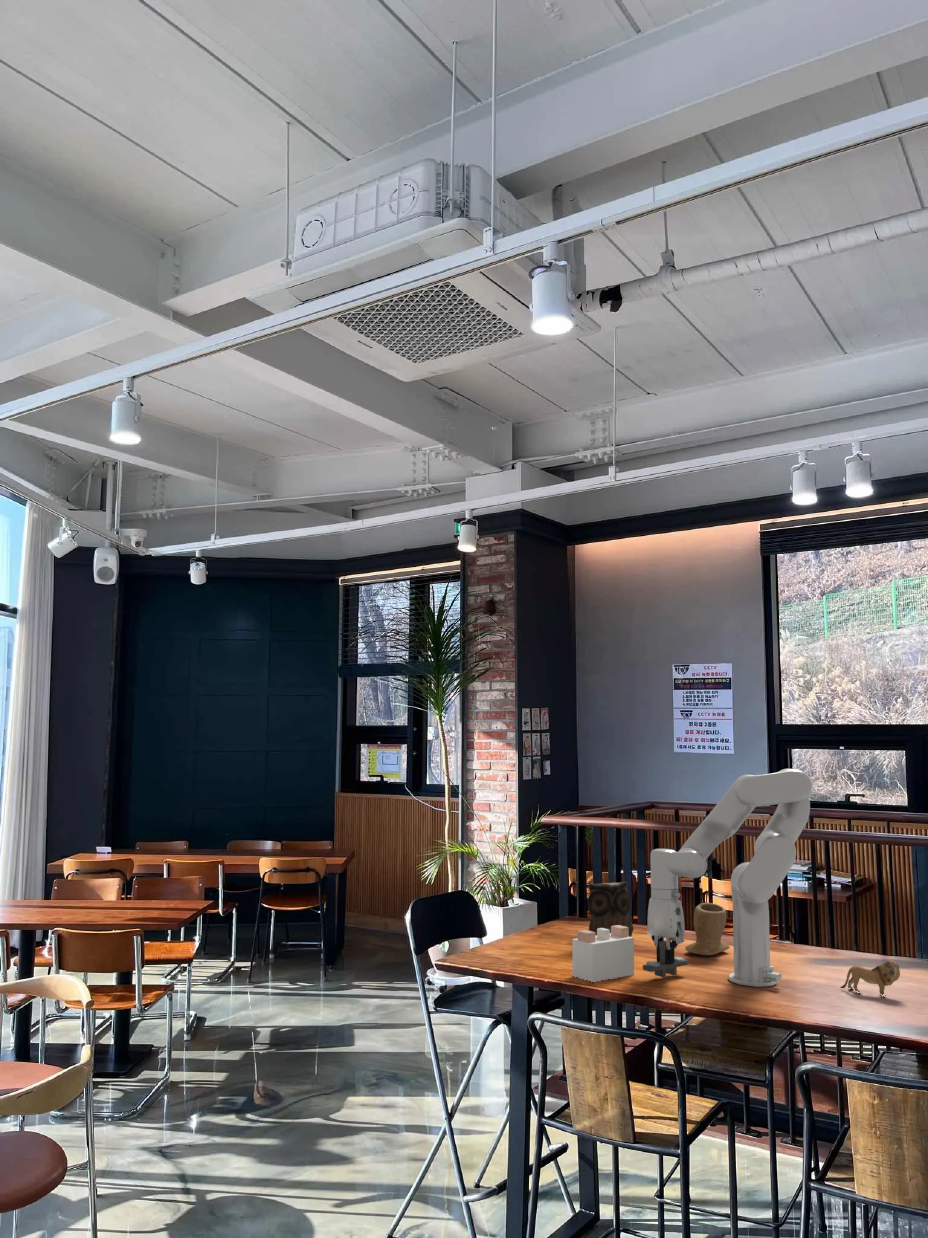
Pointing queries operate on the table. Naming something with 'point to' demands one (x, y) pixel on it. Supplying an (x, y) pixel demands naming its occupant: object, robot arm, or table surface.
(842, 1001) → the table surface
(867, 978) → the lion figurine
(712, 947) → the stone cup
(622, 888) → the owl
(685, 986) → the table surface
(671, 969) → the bar with two balls
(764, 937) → the robot arm
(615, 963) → the white toy brick
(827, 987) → the table surface
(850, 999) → the table surface
